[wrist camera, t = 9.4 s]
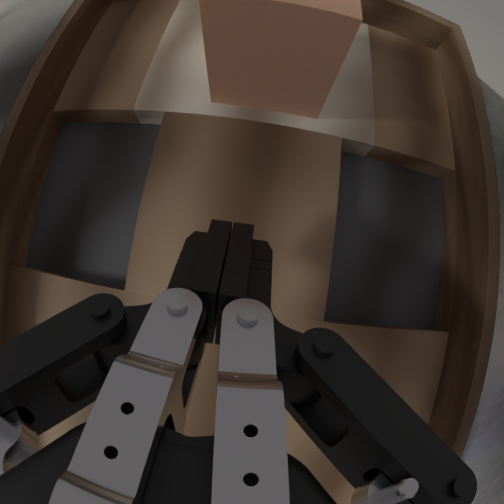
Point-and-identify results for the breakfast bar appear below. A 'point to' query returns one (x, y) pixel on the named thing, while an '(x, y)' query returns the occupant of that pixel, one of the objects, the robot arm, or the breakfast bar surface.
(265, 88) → the block
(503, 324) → the breakfast bar surface
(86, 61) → the box
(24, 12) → the breakfast bar surface
